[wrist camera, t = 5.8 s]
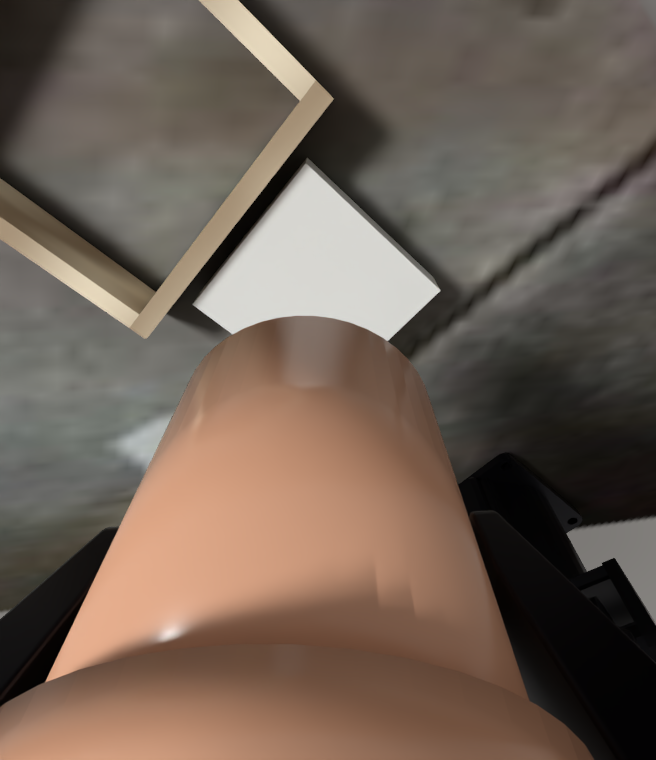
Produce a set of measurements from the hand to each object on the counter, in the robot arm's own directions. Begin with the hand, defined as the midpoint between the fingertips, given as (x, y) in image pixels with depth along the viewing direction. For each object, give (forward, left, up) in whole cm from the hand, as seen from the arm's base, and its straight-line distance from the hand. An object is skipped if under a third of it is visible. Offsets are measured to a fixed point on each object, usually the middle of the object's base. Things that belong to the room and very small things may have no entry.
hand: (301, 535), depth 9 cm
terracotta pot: (0, 0, -3) cm, 3 cm away
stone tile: (0, 0, -13) cm, 13 cm away
